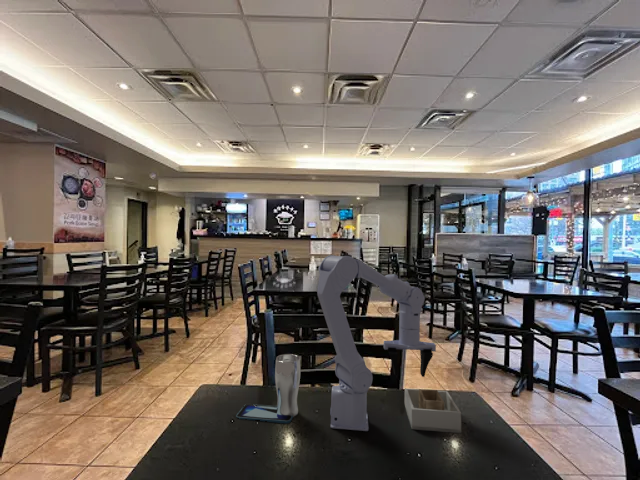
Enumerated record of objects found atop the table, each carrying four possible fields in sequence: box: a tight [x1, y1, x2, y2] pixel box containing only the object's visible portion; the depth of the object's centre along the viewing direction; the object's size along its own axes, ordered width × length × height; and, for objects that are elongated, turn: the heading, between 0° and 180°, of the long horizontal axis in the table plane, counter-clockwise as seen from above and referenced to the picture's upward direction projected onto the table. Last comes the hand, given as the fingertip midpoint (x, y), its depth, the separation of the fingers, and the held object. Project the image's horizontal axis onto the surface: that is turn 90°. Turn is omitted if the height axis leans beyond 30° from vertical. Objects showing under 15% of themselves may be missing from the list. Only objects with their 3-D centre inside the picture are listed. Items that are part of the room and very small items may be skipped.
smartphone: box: [235, 403, 294, 425], centre depth 86 cm, size 7×1×15 cm
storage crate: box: [404, 388, 462, 434], centre depth 85 cm, size 12×12×5 cm
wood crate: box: [418, 388, 444, 410], centre depth 85 cm, size 5×7×6 cm
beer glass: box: [274, 353, 301, 418], centre depth 87 cm, size 7×7×15 cm
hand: (408, 374), depth 91 cm, fingers open, 7 cm apart
